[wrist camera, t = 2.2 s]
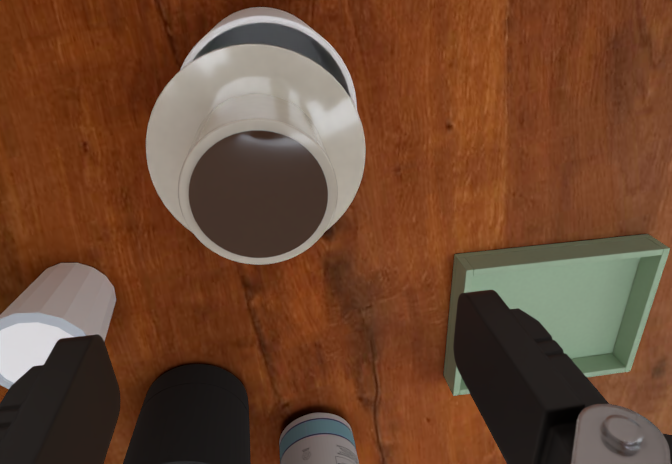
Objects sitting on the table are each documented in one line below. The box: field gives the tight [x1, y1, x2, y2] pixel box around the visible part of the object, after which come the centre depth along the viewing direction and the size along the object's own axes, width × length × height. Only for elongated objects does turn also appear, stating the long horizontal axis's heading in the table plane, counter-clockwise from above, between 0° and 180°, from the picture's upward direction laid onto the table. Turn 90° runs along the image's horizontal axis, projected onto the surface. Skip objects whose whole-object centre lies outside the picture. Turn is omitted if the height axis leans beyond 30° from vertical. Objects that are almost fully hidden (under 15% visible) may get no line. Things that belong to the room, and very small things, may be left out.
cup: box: [180, 7, 357, 110], centre depth 27 cm, size 8×12×10 cm
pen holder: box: [123, 364, 250, 464], centre depth 38 cm, size 9×9×10 cm
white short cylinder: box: [0, 263, 116, 389], centre depth 33 cm, size 7×7×7 cm
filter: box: [146, 43, 366, 265], centre depth 20 cm, size 10×10×5 cm
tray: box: [444, 234, 670, 396], centre depth 42 cm, size 17×13×3 cm
